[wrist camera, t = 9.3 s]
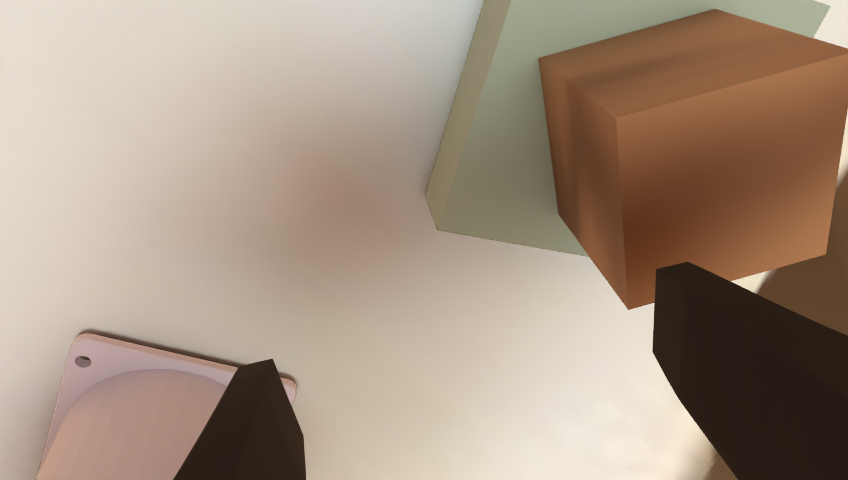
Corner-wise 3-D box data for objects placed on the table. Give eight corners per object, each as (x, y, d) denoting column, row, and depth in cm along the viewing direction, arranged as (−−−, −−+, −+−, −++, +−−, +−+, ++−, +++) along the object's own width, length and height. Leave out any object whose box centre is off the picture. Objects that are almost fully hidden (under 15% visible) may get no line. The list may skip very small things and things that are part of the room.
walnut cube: (711, 171, 19) (825, 254, 15) (558, 214, 19) (628, 309, 15) (715, 8, 16) (855, 51, 12) (538, 57, 16) (615, 118, 12)
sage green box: (642, 231, 23) (682, 273, 21) (422, 189, 21) (437, 229, 18) (762, -9, 19) (830, 6, 17) (507, -95, 17) (542, -93, 14)
